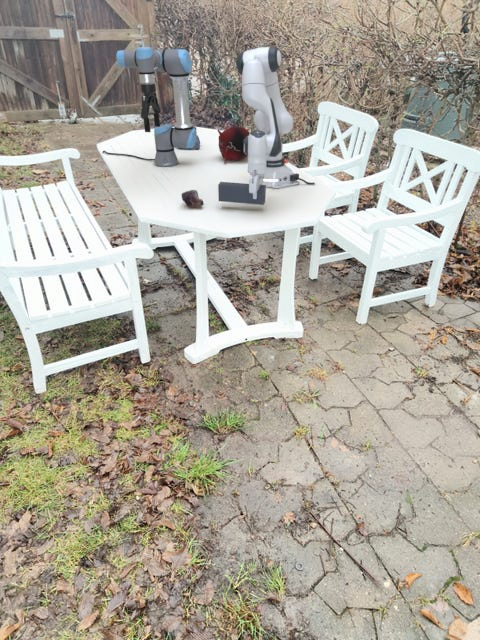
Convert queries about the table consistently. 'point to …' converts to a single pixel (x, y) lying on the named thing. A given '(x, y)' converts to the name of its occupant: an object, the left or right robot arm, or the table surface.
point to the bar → (240, 193)
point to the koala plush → (197, 144)
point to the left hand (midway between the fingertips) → (152, 129)
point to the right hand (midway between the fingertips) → (256, 196)
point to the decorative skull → (233, 143)
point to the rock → (192, 198)
